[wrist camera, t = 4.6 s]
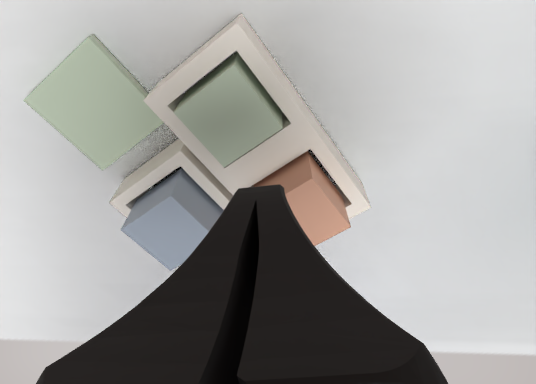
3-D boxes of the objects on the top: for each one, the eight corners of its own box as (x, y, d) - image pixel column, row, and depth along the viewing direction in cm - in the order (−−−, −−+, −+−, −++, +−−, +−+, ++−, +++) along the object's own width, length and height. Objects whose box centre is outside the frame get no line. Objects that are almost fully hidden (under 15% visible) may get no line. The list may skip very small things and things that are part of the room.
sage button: (229, 143, 20) (224, 167, 18) (185, 92, 18) (173, 112, 16) (281, 106, 19) (282, 128, 17) (238, 50, 17) (234, 65, 15)
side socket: (185, 234, 24) (177, 261, 22) (123, 179, 22) (109, 202, 20) (249, 195, 22) (247, 220, 20) (189, 130, 20) (180, 150, 18)
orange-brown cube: (290, 225, 21) (292, 257, 19) (253, 184, 20) (251, 214, 18) (342, 196, 20) (350, 227, 18) (307, 150, 19) (312, 178, 16)
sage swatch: (106, 165, 21) (102, 170, 21) (29, 96, 19) (23, 100, 19) (169, 116, 20) (166, 120, 19) (93, 34, 17) (87, 36, 17)
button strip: (285, 226, 24) (287, 252, 22) (156, 83, 19) (143, 100, 17) (362, 183, 22) (371, 207, 20) (241, 13, 17) (237, 22, 15)
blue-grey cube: (180, 238, 22) (170, 270, 20) (136, 199, 20) (120, 229, 18) (225, 210, 21) (219, 241, 19) (182, 167, 19) (170, 195, 17)
